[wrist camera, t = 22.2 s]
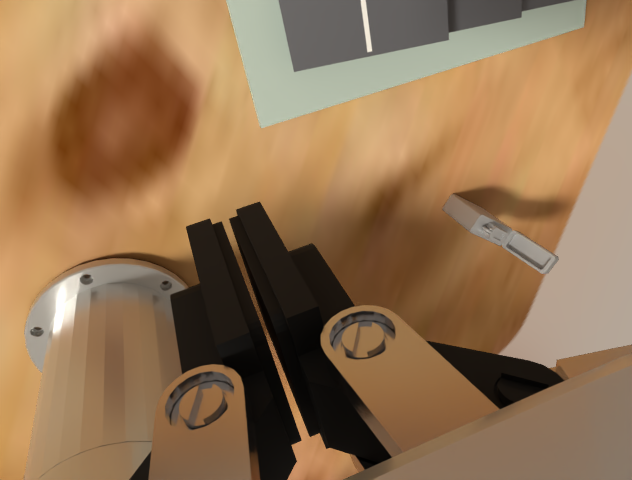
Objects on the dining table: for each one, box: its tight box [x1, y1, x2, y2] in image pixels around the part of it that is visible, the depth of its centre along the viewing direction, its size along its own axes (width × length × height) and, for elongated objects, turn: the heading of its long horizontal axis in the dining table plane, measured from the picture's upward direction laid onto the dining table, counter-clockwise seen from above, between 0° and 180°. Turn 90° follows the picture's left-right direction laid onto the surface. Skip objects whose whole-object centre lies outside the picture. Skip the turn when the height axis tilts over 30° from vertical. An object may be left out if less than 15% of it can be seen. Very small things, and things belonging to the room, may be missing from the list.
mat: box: [226, 0, 586, 128], centre depth 35 cm, size 10×27×1 cm, turn 102°
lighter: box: [443, 194, 559, 274], centre depth 43 cm, size 7×2×8 cm, turn 60°
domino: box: [278, 0, 449, 72], centre depth 32 cm, size 2×5×10 cm
